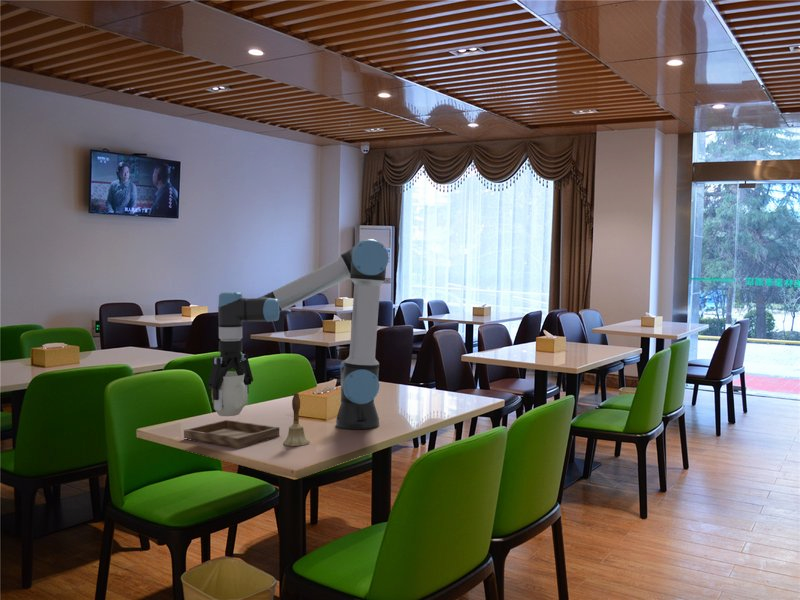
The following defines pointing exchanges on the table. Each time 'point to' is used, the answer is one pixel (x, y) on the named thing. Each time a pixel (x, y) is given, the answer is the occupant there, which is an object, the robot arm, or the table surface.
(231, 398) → the pitcher
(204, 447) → the table surface
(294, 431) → the hand bell
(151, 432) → the table surface
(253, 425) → the tray
